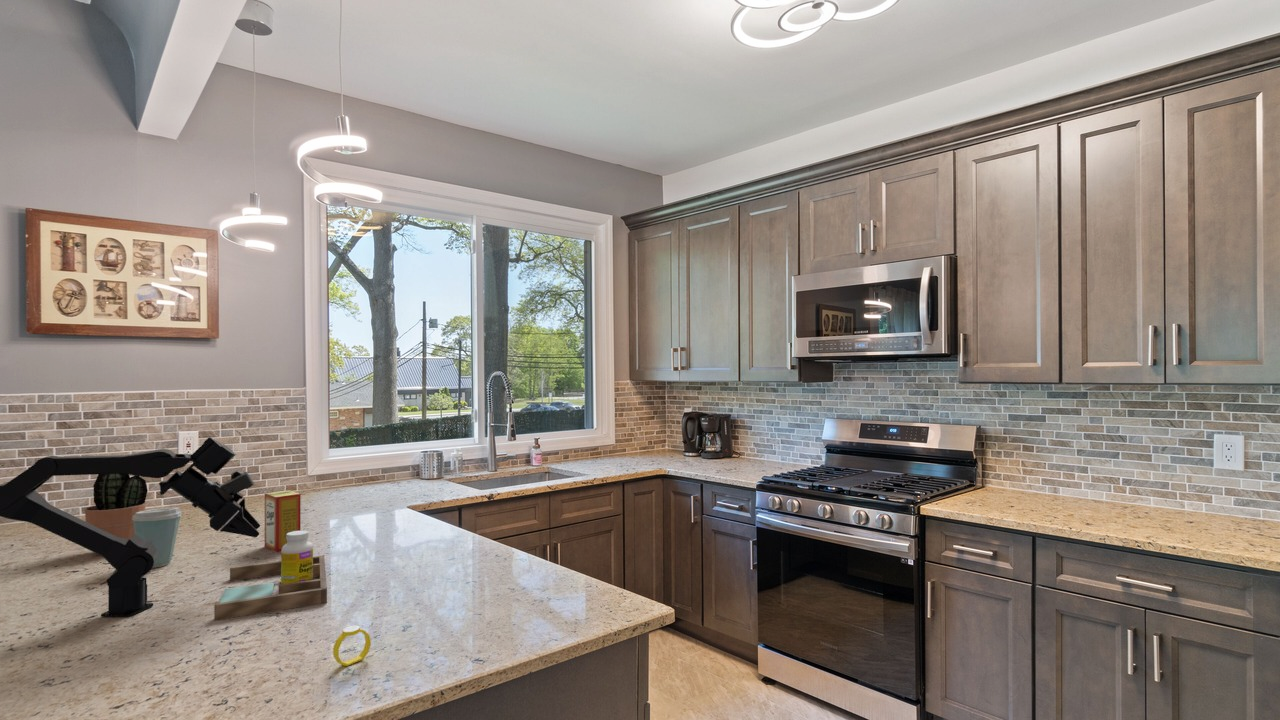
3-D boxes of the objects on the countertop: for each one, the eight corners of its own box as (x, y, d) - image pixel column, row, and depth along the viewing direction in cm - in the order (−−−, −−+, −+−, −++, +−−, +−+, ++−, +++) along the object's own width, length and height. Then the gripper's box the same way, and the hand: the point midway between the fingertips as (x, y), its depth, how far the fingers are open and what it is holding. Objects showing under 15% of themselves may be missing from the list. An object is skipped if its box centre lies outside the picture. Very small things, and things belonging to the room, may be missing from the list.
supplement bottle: (299, 592, 148) (299, 536, 148) (274, 591, 149) (274, 535, 149) (319, 583, 154) (319, 529, 154) (295, 582, 155) (295, 528, 156)
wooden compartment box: (213, 620, 131) (213, 605, 131) (229, 579, 158) (229, 567, 158) (326, 602, 141) (326, 588, 141) (324, 566, 168) (324, 555, 168)
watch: (365, 654, 114) (365, 621, 114) (373, 659, 112) (372, 624, 113) (331, 666, 110) (331, 631, 110) (338, 671, 108) (338, 635, 108)
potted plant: (91, 560, 176) (92, 469, 176) (78, 552, 184) (79, 465, 185) (152, 549, 187) (152, 463, 187) (137, 542, 195) (137, 460, 196)
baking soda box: (300, 547, 187) (300, 492, 187) (276, 552, 182) (276, 495, 183) (288, 542, 193) (288, 489, 194) (264, 546, 189) (264, 492, 189)
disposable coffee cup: (123, 567, 169) (123, 510, 169) (168, 557, 178) (169, 503, 179) (144, 573, 164) (144, 514, 164) (190, 562, 173) (190, 506, 174)
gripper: (226, 466, 138) (286, 510, 144) (230, 457, 155) (284, 497, 160) (182, 508, 134) (246, 551, 140) (192, 494, 151) (249, 533, 156)
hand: (258, 531), depth 149 cm, fingers open, 9 cm apart
